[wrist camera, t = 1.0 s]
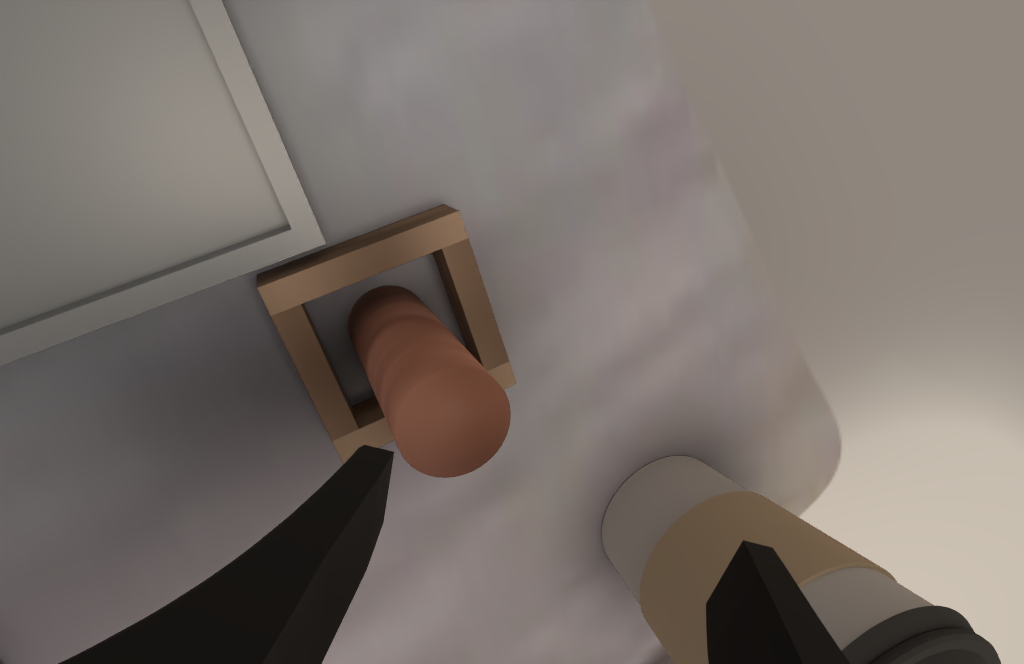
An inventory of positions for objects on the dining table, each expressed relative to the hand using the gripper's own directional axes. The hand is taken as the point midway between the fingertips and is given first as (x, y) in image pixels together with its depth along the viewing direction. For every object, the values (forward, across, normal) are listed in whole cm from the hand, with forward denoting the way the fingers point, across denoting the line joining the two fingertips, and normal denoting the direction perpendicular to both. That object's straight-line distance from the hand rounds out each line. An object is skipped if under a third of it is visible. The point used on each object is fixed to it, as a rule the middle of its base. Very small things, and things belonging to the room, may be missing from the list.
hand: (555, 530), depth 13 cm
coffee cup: (+15, -8, +13) cm, 21 cm away
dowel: (+11, +6, +3) cm, 13 cm away
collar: (+11, +6, +3) cm, 13 cm away
